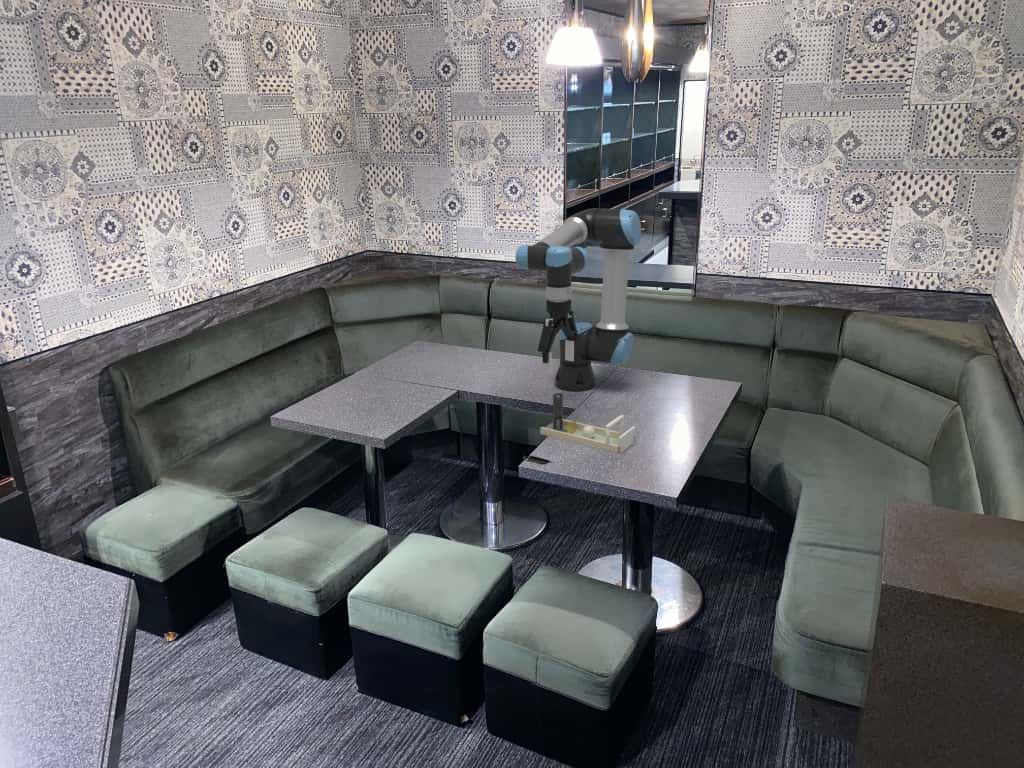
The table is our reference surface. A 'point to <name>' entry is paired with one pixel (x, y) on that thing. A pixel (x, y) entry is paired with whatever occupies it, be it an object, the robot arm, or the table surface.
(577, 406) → the table surface
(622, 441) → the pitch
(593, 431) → the ball
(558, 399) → the rod
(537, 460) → the phone
